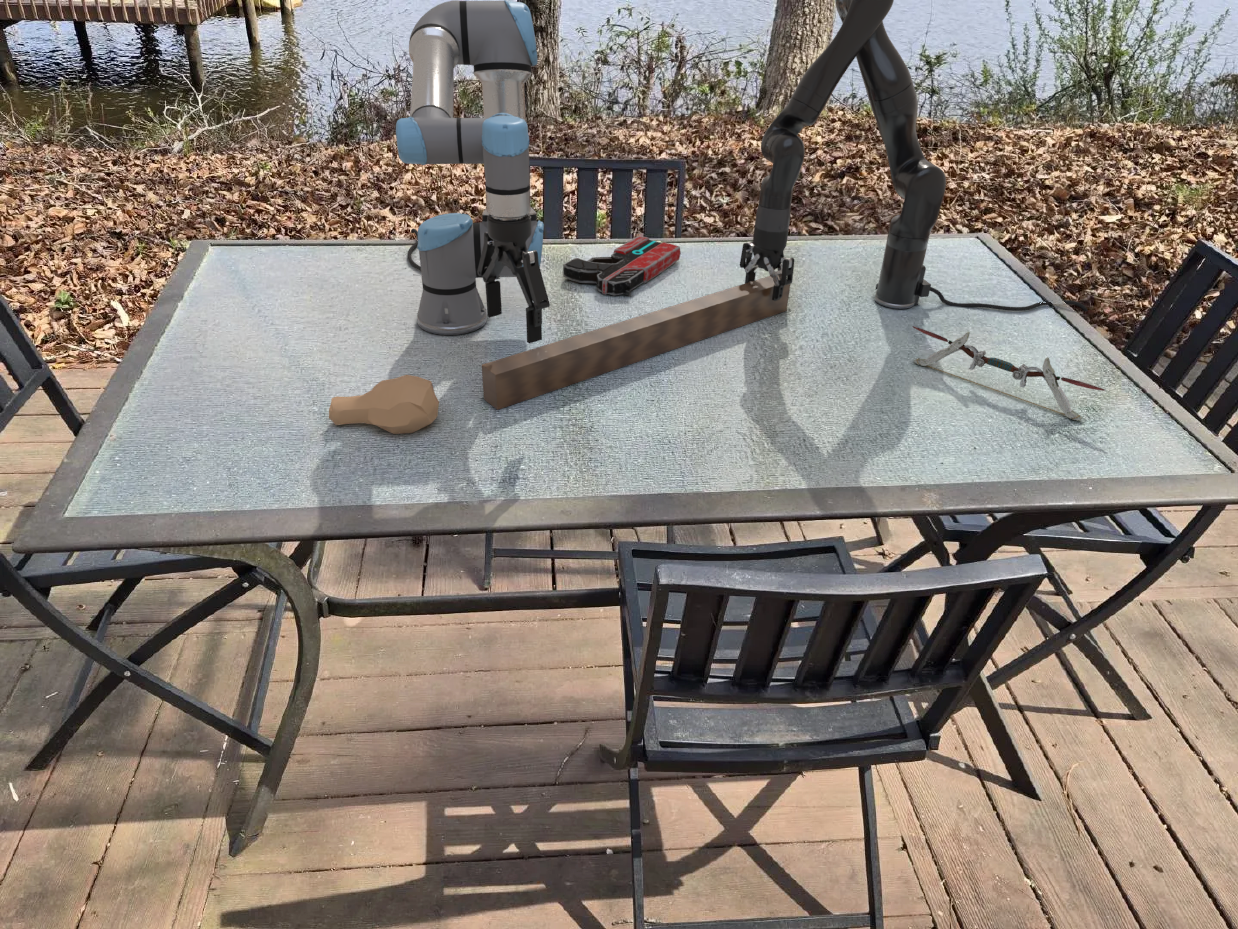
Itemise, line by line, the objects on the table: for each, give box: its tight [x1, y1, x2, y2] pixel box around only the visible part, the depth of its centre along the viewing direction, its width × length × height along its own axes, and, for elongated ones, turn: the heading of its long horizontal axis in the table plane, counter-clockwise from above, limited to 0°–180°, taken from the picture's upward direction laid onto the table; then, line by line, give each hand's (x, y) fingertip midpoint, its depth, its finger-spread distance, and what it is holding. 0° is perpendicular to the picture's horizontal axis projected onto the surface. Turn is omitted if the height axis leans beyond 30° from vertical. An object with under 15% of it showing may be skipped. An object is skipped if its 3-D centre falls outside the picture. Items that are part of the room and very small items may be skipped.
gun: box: [562, 235, 682, 297], centre depth 223 cm, size 4×31×19 cm
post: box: [481, 275, 791, 411], centre depth 185 cm, size 80×5×8 cm, turn 128°
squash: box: [328, 374, 440, 435], centre depth 157 cm, size 11×20×9 cm, turn 90°
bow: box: [912, 325, 1106, 421], centre depth 173 cm, size 39×2×10 cm, turn 47°
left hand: (514, 327), depth 162 cm, fingers open, 13 cm apart
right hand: (762, 293), depth 203 cm, fingers open, 8 cm apart
